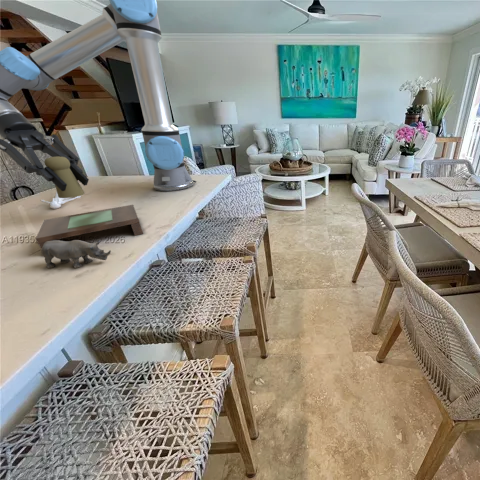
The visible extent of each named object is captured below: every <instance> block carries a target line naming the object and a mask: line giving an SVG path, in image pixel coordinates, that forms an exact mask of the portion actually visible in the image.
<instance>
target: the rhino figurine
mask: <svg viewBox="0 0 480 480" xmlns="http://www.w3.org/2000/svg"><path fill="white" fill-rule="evenodd" d="M100 242H101V240H100V239H98V241H96V242H95V243H90V242H88V241H84V240H79V239H73V240H69V241H65V240H61V239H60V240H53V241H46V242H45V243H44V245H43V247H42V249H41V248H40V249H41V255H42V257H43V258H44V263H45V264H46V268H47V269H50V268H51V269H53V268H54V267H55V266H56V263H54V262H52V260H53V259H54V258H56V259H59V260H60V263H69V262H71V261H72V262H73V264H72V266H73V268H74V269H78V268H81V267H82V266H83V265H82V263H80V258H82V259H83V262H84V263H86V264H87V263H91V262H93V259H96V260H100V261H106V260H107V259H108V256H109V255H110V254H111V252H112V251H111V249H110V250H108V251H107V252H105V249H101V248H99V246H98V245H100Z"/></svg>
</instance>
